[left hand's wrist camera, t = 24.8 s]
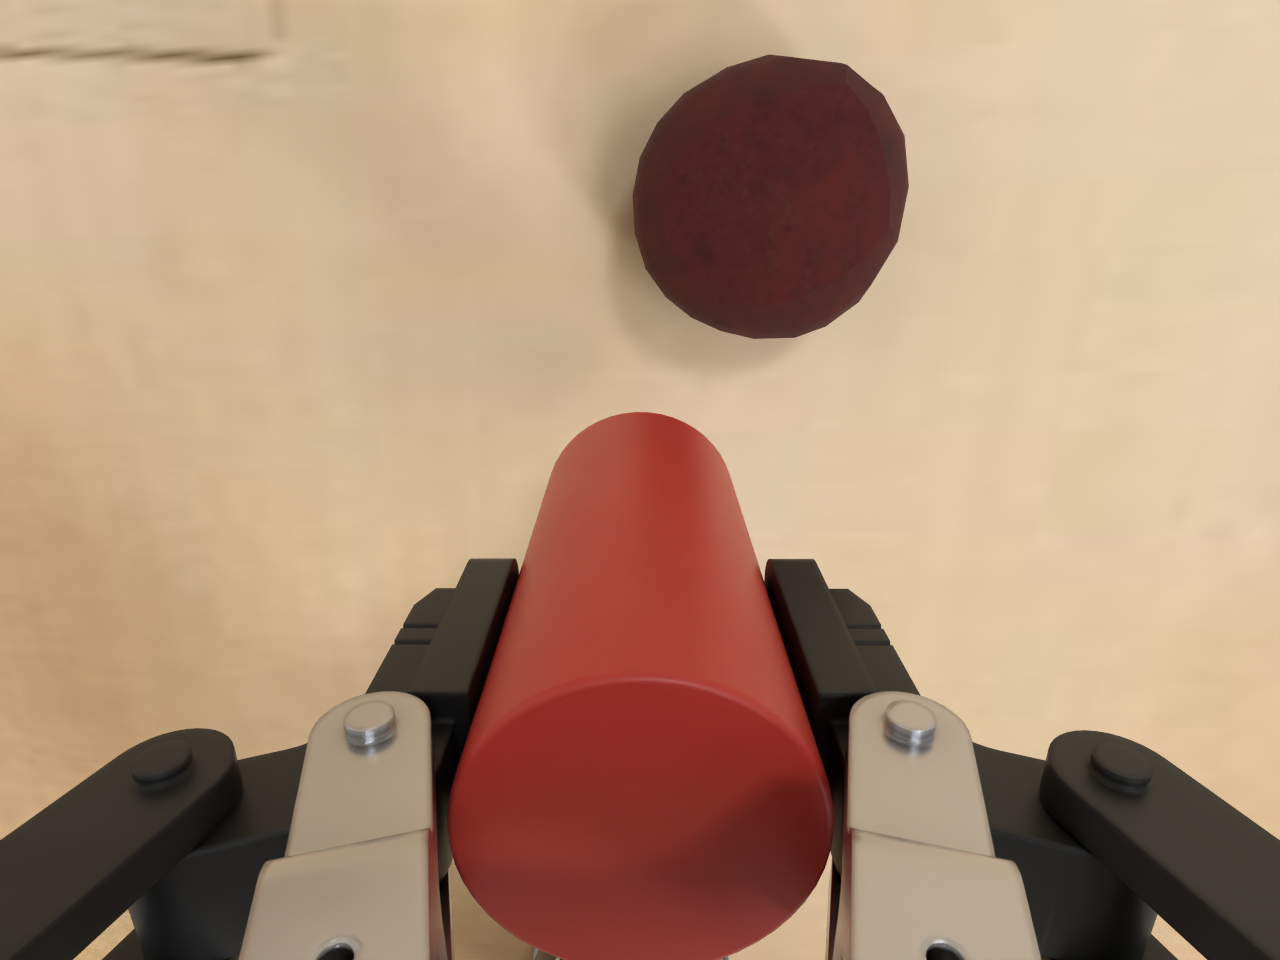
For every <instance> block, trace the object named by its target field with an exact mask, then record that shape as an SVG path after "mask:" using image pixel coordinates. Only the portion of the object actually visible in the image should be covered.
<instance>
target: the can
mask: <svg viewBox="0 0 1280 960" xmlns="http://www.w3.org/2000/svg"><path fill="white" fill-rule="evenodd" d="M447 826H448V836H449V843H450V847H451V851H452V854H453V858H454V862H455V865H456V867H457V869H458V871H459V874H460V876H461V878H462V880H463V882H464V884H465V885H466V887H467V888H468V890H469V891H470V893H471V895H472V896H473V898H474V899H475V900H476V901H477V902H478V904H479V905H480V906H481V907H482V908H483V909H484V910H485V912H486V913H487V914H488V915H489V916H491V917H492V918H493V919H494V920H495V921H496V922H497V923H498V924H499V925H501V926H502V927H503V928H504V929H506V930H507V931H509V932H510V933H512V934H513V935H514V936H516V937H517V938H519V939H520V940H522V941H524V942H526V943H528V944H529V945H531V946H533V947H535V948H537V949H539V950H541V951H543V952H546V953H548V954H551V955H553V956H555V957H558V958H560V959H564V960H718V959H720V958H723V957H726V956H728V955H731V954H734V953H736V952H738V951H740V950H742V949H744V948H746V947H748V946H750V945H752V944H754V943H756V942H758V941H759V940H761V939H762V938H764V937H765V936H767V935H768V934H770V933H772V932H773V931H775V930H776V929H777V928H778V927H779V926H781V925H782V924H783V923H784V922H785V921H787V920H788V919H789V918H790V917H791V916H792V915H793V914H794V913H795V912H796V911H797V910H798V909H799V908H800V906H801V905H802V904H803V903H804V902H805V901H806V899H807V898H808V896H809V895H810V894H811V892H812V891H813V889H814V888H815V886H816V885H817V883H818V881H819V879H820V877H821V875H822V873H823V871H824V869H825V866H826V863H827V860H828V856H829V853H830V850H831V846H832V839H833V832H834V804H833V799H832V794H831V789H830V785H829V782H828V779H827V776H826V773H825V769H824V766H823V763H822V760H821V757H820V754H819V751H818V748H817V745H816V742H815V738H814V735H813V732H812V729H811V726H810V723H809V720H808V717H807V714H806V711H805V707H804V704H803V701H802V698H801V695H800V692H799V689H798V686H797V683H796V680H795V676H794V673H793V670H792V667H791V664H790V661H789V658H788V655H787V652H786V648H785V645H784V642H783V639H782V636H781V633H780V630H779V627H778V624H777V621H776V617H775V614H774V611H773V608H772V605H771V602H770V599H769V596H768V593H767V590H766V586H765V583H764V580H763V577H762V574H761V571H760V568H759V565H758V562H757V559H756V555H755V552H754V549H753V546H752V543H751V540H750V537H749V534H748V531H747V527H746V524H745V521H744V518H743V515H742V512H741V509H740V506H739V503H738V500H737V496H736V493H735V490H734V487H733V484H732V481H731V478H730V475H729V472H728V469H727V467H726V464H725V462H724V461H723V459H722V457H721V455H720V454H719V452H718V451H717V449H716V448H715V447H714V445H713V444H712V443H711V442H710V441H709V440H708V439H707V438H706V437H705V436H704V435H702V434H701V433H700V432H699V431H697V430H696V429H695V428H693V427H691V426H690V425H688V424H686V423H684V422H682V421H680V420H677V419H675V418H672V417H669V416H665V415H662V414H655V413H648V412H634V413H625V414H620V415H615V416H611V417H608V418H606V419H603V420H601V421H598V422H596V423H595V424H593V425H591V426H589V427H587V428H586V429H585V430H583V431H582V432H581V433H579V434H578V435H577V436H576V437H575V438H574V439H573V440H572V441H571V442H570V443H569V444H568V445H567V446H566V448H565V449H564V450H563V451H562V453H561V455H560V456H559V458H558V460H557V461H556V463H555V466H554V468H553V471H552V473H551V476H550V480H549V483H548V486H547V489H546V492H545V495H544V498H543V501H542V505H541V508H540V511H539V514H538V517H537V520H536V523H535V527H534V530H533V533H532V536H531V539H530V542H529V545H528V549H527V552H526V555H525V558H524V561H523V564H522V567H521V570H520V574H519V577H518V580H517V583H516V586H515V589H514V592H513V596H512V599H511V602H510V605H509V608H508V611H507V614H506V618H505V621H504V624H503V627H502V630H501V633H500V636H499V639H498V643H497V646H496V649H495V652H494V655H493V658H492V661H491V665H490V668H489V671H488V674H487V677H486V680H485V683H484V687H483V690H482V693H481V696H480V699H479V702H478V705H477V709H476V712H475V715H474V718H473V721H472V724H471V727H470V730H469V734H468V737H467V740H466V743H465V746H464V749H463V752H462V756H461V759H460V762H459V765H458V768H457V771H456V774H455V778H454V781H453V784H452V788H451V793H450V797H449V801H448V813H447Z"/></svg>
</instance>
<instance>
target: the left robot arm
mask: <svg viewBox="0 0 1280 960" xmlns="http://www.w3.org/2000/svg"><path fill="white" fill-rule="evenodd" d="M518 577H519V570H518V564H517V561H516V559H470V560H469V561H468V563H467V565H466V567H465V569H464V572H463V574H462V576H461V578H460V580H459V582H458V584H457V587H456V588H436V589H435V590H433V591H432V592H431V593H429V594H428V595H427V596H425V597H424V598H423V599H421V600H420V601H419V602H417V603H416V604H415V605H414V606H413V608H412V610H411V612H410V613H409V615H408V617H407V619H406V621H405V622H404V624H403V628H401V630H400V632H399V633H398V635H397V637H396V639H395V644H394V645H392V646H391V648H390V650H389V652H388V653H387V655H386V657H385V659H384V661H383V662H382V664H381V666H380V668H379V670H378V672H377V673H376V675H375V677H374V679H373V681H372V683H371V684H370V686H369V688H368V690H367V692H366V693H365V694H364V695H361V696H357V697H354V698H352V699H349V700H347V701H345V702H343V703H341V704H339V705H337V706H335V707H334V708H332V709H331V710H329V711H328V712H327V713H326V714H324V715H323V716H322V717H321V718H320V719H319V720H318V721H317V723H316V724H315V725H314V727H313V728H312V730H311V732H310V735H309V739H308V743H307V744H304V745H301V746H298V747H294V748H291V749H287V750H282V751H278V752H273V753H269V754H264V755H260V756H255V757H250V758H246V759H241V760H237V757H236V753H235V749H234V745H233V742H232V741H231V739H230V738H229V737H228V736H226V735H225V734H223V733H221V732H219V731H216V730H211V729H200V728H196V729H185V730H179V731H174V732H170V733H166V734H163V735H160V736H157V737H154V738H151V739H149V740H147V741H144V742H142V743H140V744H138V745H136V746H134V747H132V748H130V749H129V750H127V751H125V752H124V753H122V754H121V755H119V756H118V757H116V758H115V759H114V760H112V761H111V762H109V763H108V764H107V765H105V766H104V767H102V768H101V769H100V770H98V771H97V772H95V773H94V774H93V775H91V776H90V777H88V778H87V779H86V780H84V781H83V782H81V783H80V784H79V785H77V786H76V787H74V788H73V789H72V790H70V791H69V792H67V793H66V794H65V795H63V796H62V797H60V798H59V799H58V800H56V801H55V802H53V803H52V804H51V805H49V806H48V807H46V808H45V809H44V810H42V811H41V812H39V813H38V814H37V815H35V816H34V817H32V818H31V819H30V820H28V821H27V822H25V823H24V824H23V825H21V826H20V827H18V828H17V829H16V830H14V831H13V832H11V833H10V834H9V835H7V836H6V837H4V838H3V839H2V840H0V960H73V959H74V958H75V957H76V956H77V955H78V954H79V953H80V952H82V951H83V950H84V949H85V948H86V947H87V946H88V945H89V944H90V943H91V942H92V941H94V940H95V939H96V938H97V937H98V936H99V935H100V934H101V933H102V932H103V931H104V930H105V929H107V928H108V927H109V926H110V925H111V924H112V923H113V922H114V921H115V920H116V919H117V918H119V917H120V916H121V915H122V914H123V913H124V912H125V911H126V910H127V909H128V910H129V913H130V916H131V919H132V922H133V925H134V928H135V929H134V930H133V931H132V932H130V933H129V934H128V935H127V936H126V937H125V938H124V939H123V940H122V941H121V942H120V943H119V944H118V945H117V946H116V947H115V948H114V949H113V950H112V951H111V952H110V953H108V954H107V955H106V956H105V957H104V958H103V959H102V960H455V959H454V937H453V915H452V894H451V880H450V872H449V867H450V864H451V861H452V858H453V854H452V851H451V847H450V843H449V836H448V826H447V813H448V801H449V797H450V793H451V788H452V784H453V781H454V778H455V774H456V771H457V768H458V765H459V762H460V759H461V756H462V752H463V749H464V746H465V743H466V740H467V737H468V734H469V730H470V727H471V724H472V721H473V718H474V715H475V712H476V709H477V705H478V702H479V699H480V696H481V693H482V690H483V687H484V683H485V680H486V677H487V674H488V671H489V668H490V665H491V661H492V658H493V655H494V652H495V649H496V646H497V643H498V639H499V636H500V633H501V630H502V627H503V624H504V621H505V618H506V614H507V611H508V608H509V605H510V602H511V599H512V596H513V592H514V589H515V586H516V583H517V580H518ZM764 583H765V586H766V590H767V593H768V596H769V599H770V602H771V605H772V608H773V611H774V614H775V617H776V621H777V624H778V627H779V630H780V633H781V636H782V639H783V642H784V645H785V648H786V652H787V655H788V658H789V661H790V664H791V667H792V670H793V673H794V676H795V680H796V683H797V686H798V689H799V692H800V695H801V698H802V701H803V704H804V707H805V711H806V714H807V717H808V720H809V723H810V726H811V729H812V732H813V735H814V738H815V742H816V745H817V748H818V751H819V754H820V757H821V760H822V763H823V766H824V769H825V773H826V776H827V779H828V782H829V785H830V789H831V794H832V799H833V804H834V832H833V839H832V846H831V850H830V851H831V854H832V864H831V872H830V880H829V894H828V915H827V937H826V959H825V960H1178V959H1177V958H1176V957H1175V956H1174V955H1173V954H1172V953H1171V952H1169V951H1168V950H1167V949H1166V948H1165V947H1164V946H1163V945H1162V944H1161V943H1160V942H1159V941H1158V940H1157V939H1156V938H1155V937H1154V936H1153V935H1152V934H1151V932H1152V929H1153V926H1154V923H1155V920H1156V917H1157V914H1158V915H1159V916H1160V917H1161V918H1163V919H1164V920H1165V921H1166V922H1167V923H1168V924H1169V925H1170V926H1171V927H1172V928H1173V929H1175V930H1176V931H1177V932H1178V933H1179V934H1180V935H1181V936H1182V937H1183V938H1184V939H1185V940H1186V941H1188V942H1189V943H1190V944H1191V945H1192V946H1193V947H1194V948H1195V949H1196V950H1197V951H1198V952H1200V953H1201V954H1202V955H1203V956H1204V957H1205V958H1206V959H1207V960H1280V840H1278V839H1277V838H1276V837H1274V836H1273V835H1271V834H1270V833H1269V832H1267V831H1266V830H1264V829H1263V828H1262V827H1260V826H1259V825H1257V824H1256V823H1255V822H1253V821H1252V820H1250V819H1249V818H1248V817H1246V816H1245V815H1243V814H1242V813H1241V812H1239V811H1238V810H1236V809H1235V808H1234V807H1232V806H1231V805H1229V804H1228V803H1227V802H1225V801H1224V800H1222V799H1221V798H1220V797H1218V796H1217V795H1215V794H1214V793H1213V792H1211V791H1210V790H1208V789H1207V788H1206V787H1204V786H1203V785H1201V784H1200V783H1199V782H1197V781H1196V780H1194V779H1193V778H1192V777H1190V776H1189V775H1187V774H1186V773H1185V772H1183V771H1182V770H1180V769H1179V768H1178V767H1176V766H1175V765H1173V764H1172V763H1171V762H1169V761H1168V760H1166V759H1165V758H1163V757H1162V756H1160V755H1159V754H1157V753H1156V752H1154V751H1152V750H1150V749H1149V748H1147V747H1145V746H1143V745H1141V744H1138V743H1136V742H1134V741H1131V740H1129V739H1126V738H1123V737H1120V736H1116V735H1113V734H1109V733H1104V732H1098V731H1086V730H1084V731H1072V732H1067V733H1064V734H1062V735H1059V736H1058V737H1056V738H1055V739H1054V740H1053V741H1052V742H1051V744H1050V747H1049V750H1048V754H1047V758H1046V761H1045V760H1040V759H1036V758H1031V757H1026V756H1022V755H1017V754H1013V753H1008V752H1004V751H999V750H995V749H991V748H988V747H985V746H982V745H979V744H976V743H974V742H972V739H971V735H970V732H969V730H968V728H967V727H966V725H965V724H964V723H963V721H962V720H961V719H960V718H959V717H958V716H957V715H956V714H954V713H953V712H952V711H951V710H949V709H948V708H946V707H945V706H943V705H941V704H939V703H937V702H935V701H933V700H931V699H928V698H926V697H923V696H920V694H919V692H918V690H917V689H916V687H915V685H914V683H913V681H912V680H911V678H910V676H909V674H908V672H907V671H906V669H905V667H904V665H903V663H902V662H901V660H900V658H899V656H898V655H897V653H896V651H895V649H894V647H893V646H892V645H890V640H889V638H888V637H887V635H886V633H885V631H884V629H881V624H880V622H879V621H878V619H877V617H876V615H875V613H874V612H873V610H872V608H871V606H870V605H869V604H867V603H866V602H865V601H863V600H862V599H861V598H859V597H858V596H857V595H855V594H854V593H853V592H851V591H850V590H849V589H828V586H827V584H826V582H825V580H824V578H823V576H822V574H821V572H820V570H819V568H818V566H817V563H816V562H815V560H814V559H768V561H767V564H766V569H765V580H764ZM532 960H564V959H560V958H558V957H555V956H553V955H551V954H548V953H546V952H543V951H541V950H539V949H537V948H535V947H534V951H533V958H532ZM718 960H728V956H726V957H723V958H720V959H718Z"/></svg>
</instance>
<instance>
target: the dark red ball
mask: <svg viewBox="0 0 1280 960" xmlns="http://www.w3.org/2000/svg"><path fill="white" fill-rule="evenodd" d="M908 187H909V184H908V172H907V161H906V149H905V137H904V134H903V132H902V130H901V128H900V126H899V124H898V122H897V120H896V118H895V117H894V115H893V113H892V111H891V109H890V107H889V105H888V103H887V101H886V99H885V97H884V96H883V94H882V93H881V92H879V91H878V90H877V89H875V88H874V87H873V86H871V85H870V84H869V83H868V82H867V81H865V80H864V79H863V78H862V77H861V76H860V75H858V74H857V73H856V72H855V71H854V70H852V69H851V68H850V67H849V66H848V65H845V64H842V63H836V62H827V61H818V60H810V59H801V58H794V57H785V56H776V55H767V56H763V57H760V58H757V59H753V60H750V61H747V62H744V63H740V64H737V65H734V66H730V67H727V68H725V69H724V70H722V71H720V72H719V73H717V74H715V75H714V76H712V77H711V78H709V79H707V80H706V81H704V82H702V83H701V84H699V85H697V86H696V87H694V88H692V89H691V90H689V91H687V92H686V93H684V94H683V95H682V96H681V98H680V99H679V100H678V101H677V102H676V103H675V104H674V105H673V106H672V107H671V108H670V110H669V111H668V112H667V113H666V114H665V115H664V116H663V117H662V118H661V119H660V121H659V122H658V123H657V125H656V127H655V129H654V131H653V133H652V135H651V137H650V139H649V141H648V143H647V145H646V147H645V149H644V151H643V153H642V155H641V157H640V160H639V165H638V170H637V176H636V181H635V186H634V192H633V207H634V226H635V235H636V238H637V241H638V245H639V248H640V251H641V255H642V258H643V261H644V265H645V268H646V270H647V271H648V273H649V274H650V275H651V277H652V278H653V280H654V281H655V282H656V284H657V285H658V287H659V288H660V289H661V291H662V292H663V294H664V295H665V296H666V298H668V299H669V300H670V301H671V302H673V303H674V304H675V305H676V306H678V307H679V308H680V309H682V310H683V311H684V312H685V313H687V314H688V315H689V316H690V317H692V318H694V319H696V320H698V321H700V322H703V323H705V324H707V325H709V326H711V327H714V328H716V329H718V330H720V331H724V332H728V333H732V334H736V335H741V336H745V337H749V338H753V339H760V338H795V337H798V336H800V335H803V334H806V333H809V332H811V331H814V330H817V329H820V328H822V327H825V326H827V325H828V324H830V323H831V322H832V321H834V320H835V319H836V318H838V317H839V316H840V315H842V314H843V313H844V312H846V311H847V310H848V309H850V308H851V307H853V306H854V305H855V304H857V303H858V302H859V301H860V299H861V298H862V297H863V295H864V294H865V292H866V291H867V290H868V288H869V287H870V285H871V284H872V282H873V281H874V279H875V277H876V276H877V274H878V273H879V271H880V269H881V268H882V266H883V264H884V263H885V261H886V259H887V258H888V256H889V255H890V253H891V251H892V250H893V248H894V246H895V245H896V243H897V242H898V237H899V232H900V227H901V222H902V217H903V212H904V207H905V202H906V197H907V192H908Z"/></svg>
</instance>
